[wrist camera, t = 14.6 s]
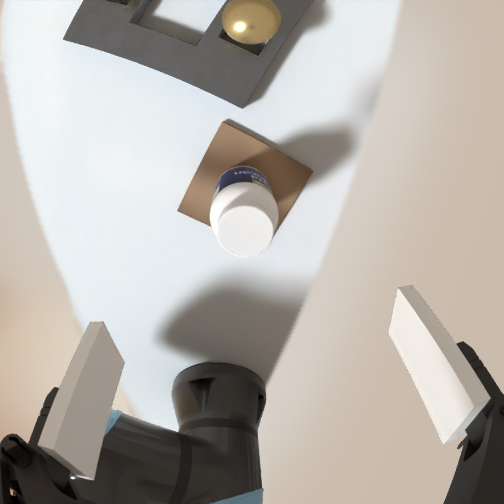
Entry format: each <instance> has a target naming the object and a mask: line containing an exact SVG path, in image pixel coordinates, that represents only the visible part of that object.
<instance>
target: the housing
mask: <svg viewBox="0 0 504 504" xmlns="http://www.w3.org/2000/svg"><path fill="white" fill-rule="evenodd" d="M230 1H231V0H227V1H226V2H225V3H224V5H223V6H222V8H221V9H220V11H219V12H218V14H217V15H216V17H215V18H214V20H213V21H212V23H211V24H210V26H209V27H208V29H207V30H206V32H205V33H204V35H203V37H202V38H201V40H200V42H199V43H198V45H197V46H194V45H192V44H189V43H187V42H184V41H182V40H179V39H176V38H174V37H171V36H168V35H166V34H163V33H160V32H157V31H154V30H151V29H148V28H145V27H142V26H139V25H137V23H138V21H139V19H140V18H141V16H142V15H143V13H144V11H145V10H146V8H147V7H148V5H149V3H150V2H151V0H130V1H129V3H128V4H127V5H123V4H119V3H115V2H111V1H106V0H83V2H82V4H81V6H80V7H79V9H78V11H77V13H76V15H75V16H74V18H73V20H72V22H71V24H70V26H69V28H68V30H67V32H66V34H65V36H64V38H63V40H66V41H70V42H74V43H77V44H81V45H84V46H88V47H91V48H95V49H98V50H101V51H104V52H107V53H110V54H113V55H116V56H119V57H122V58H125V59H128V60H131V61H134V62H137V63H139V64H142V65H145V66H147V67H150V68H152V69H155V70H158V71H160V72H163V73H165V74H168V75H170V76H172V77H175V78H177V79H180V80H182V81H184V82H187V83H189V84H191V85H193V86H196V87H198V88H200V89H202V90H205V91H207V92H209V93H211V94H213V95H215V96H217V97H219V98H222V99H224V100H226V101H228V102H230V103H232V104H234V105H236V106H238V107H240V108H242V109H243V107H244V106H245V104H246V102H247V100H248V99H249V97H250V95H251V94H252V92H253V90H254V89H255V87H256V85H257V84H258V82H259V80H260V79H261V77H262V75H263V74H264V72H265V71H266V69H267V67H268V66H269V64H270V63H271V61H272V59H273V58H274V56H275V55H276V53H277V52H278V50H279V49H280V47H281V45H282V44H283V42H284V41H285V39H286V38H287V36H288V35H289V33H290V32H291V30H292V29H293V27H294V26H295V25H296V23H297V22H298V20H299V19H300V17H301V16H302V14H303V13H304V11H305V10H306V9H307V7H308V6H309V4H310V3H311V2H312V0H271V1H272V2H273V3H274V4H275V5H276V6H277V7H278V9H279V11H280V14H281V23H280V27H279V29H278V30H277V32H276V33H275V35H274V36H273V37H272V38H270V39H269V41H268V42H267V44H266V45H265V47H264V48H263V50H262V51H261V53H260V54H259V56H257V55H255V54H253V53H251V52H249V51H247V50H245V49H243V48H241V47H239V46H237V45H235V44H232V43H230V42H228V41H226V40H224V39H221V37H222V35H223V34H224V32H225V30H224V28H223V24H222V13H223V10H224V8H225V7H226V5H227V4H228V3H229V2H230Z"/></svg>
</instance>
